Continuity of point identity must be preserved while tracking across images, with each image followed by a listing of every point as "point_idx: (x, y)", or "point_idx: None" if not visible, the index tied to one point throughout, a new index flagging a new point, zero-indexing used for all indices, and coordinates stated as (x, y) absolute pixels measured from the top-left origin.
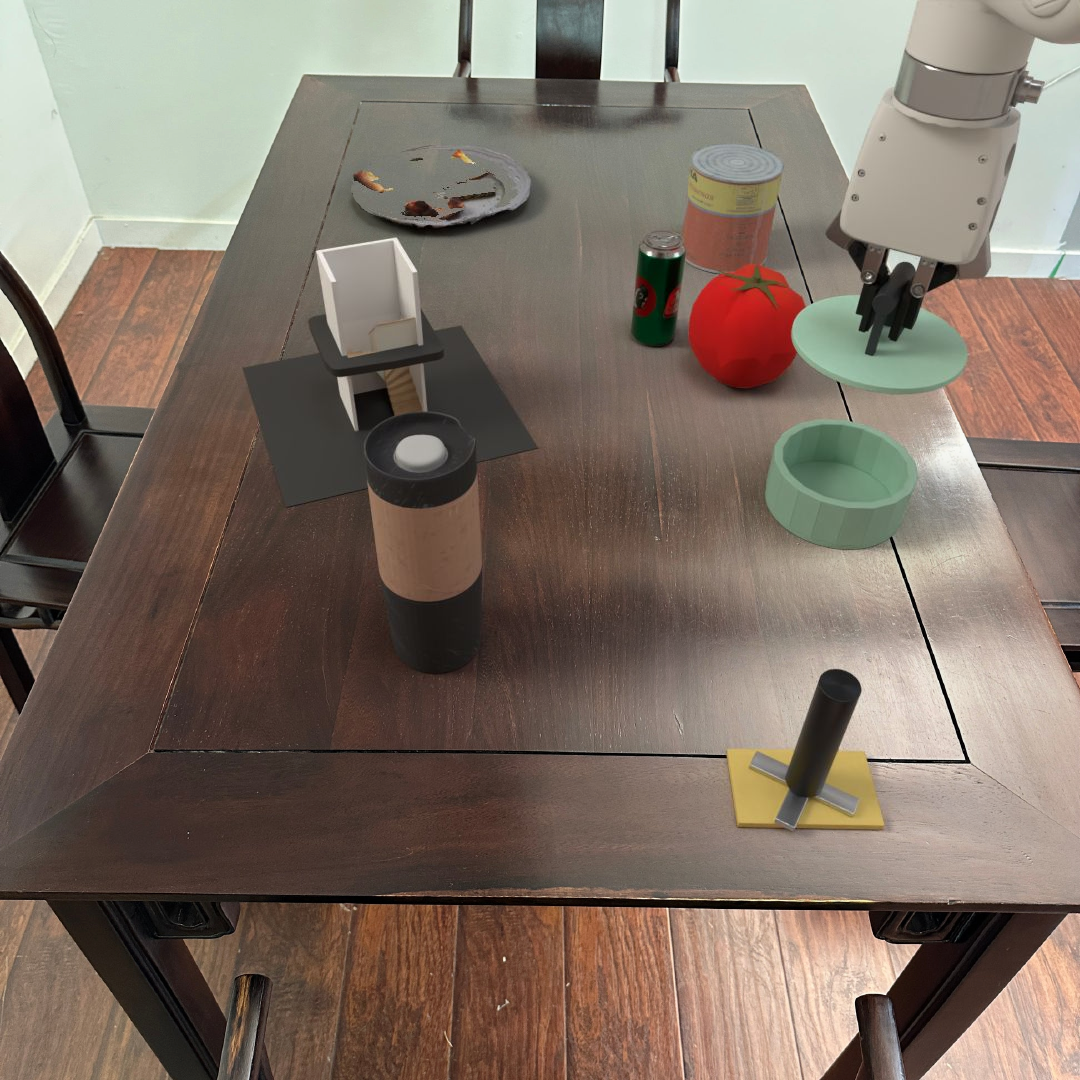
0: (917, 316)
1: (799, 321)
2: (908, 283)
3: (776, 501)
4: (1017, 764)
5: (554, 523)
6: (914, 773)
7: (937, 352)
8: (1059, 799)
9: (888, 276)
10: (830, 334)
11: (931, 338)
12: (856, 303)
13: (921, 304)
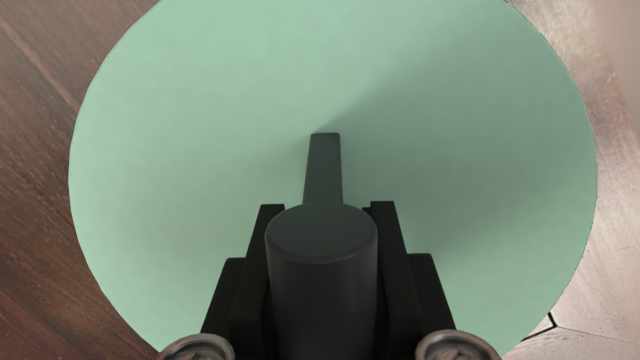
0: (432, 262)
1: (104, 268)
2: (376, 354)
3: None
4: (599, 310)
5: (74, 271)
6: (511, 354)
7: (505, 216)
8: (635, 323)
9: (275, 345)
10: (206, 284)
11: (475, 149)
12: (181, 73)
13: (443, 293)
